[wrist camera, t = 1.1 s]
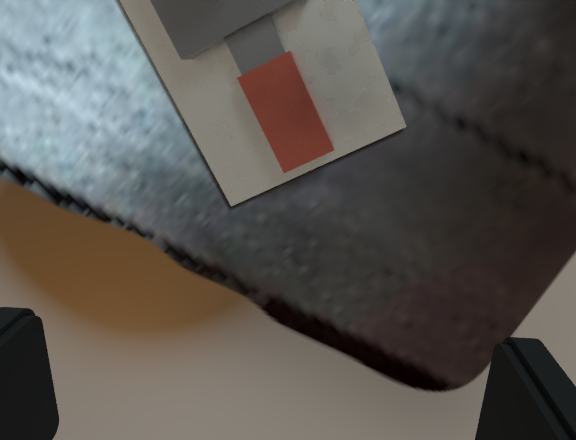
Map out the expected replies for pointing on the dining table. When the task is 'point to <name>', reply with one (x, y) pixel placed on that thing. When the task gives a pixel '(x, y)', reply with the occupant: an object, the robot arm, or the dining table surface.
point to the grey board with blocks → (269, 83)
